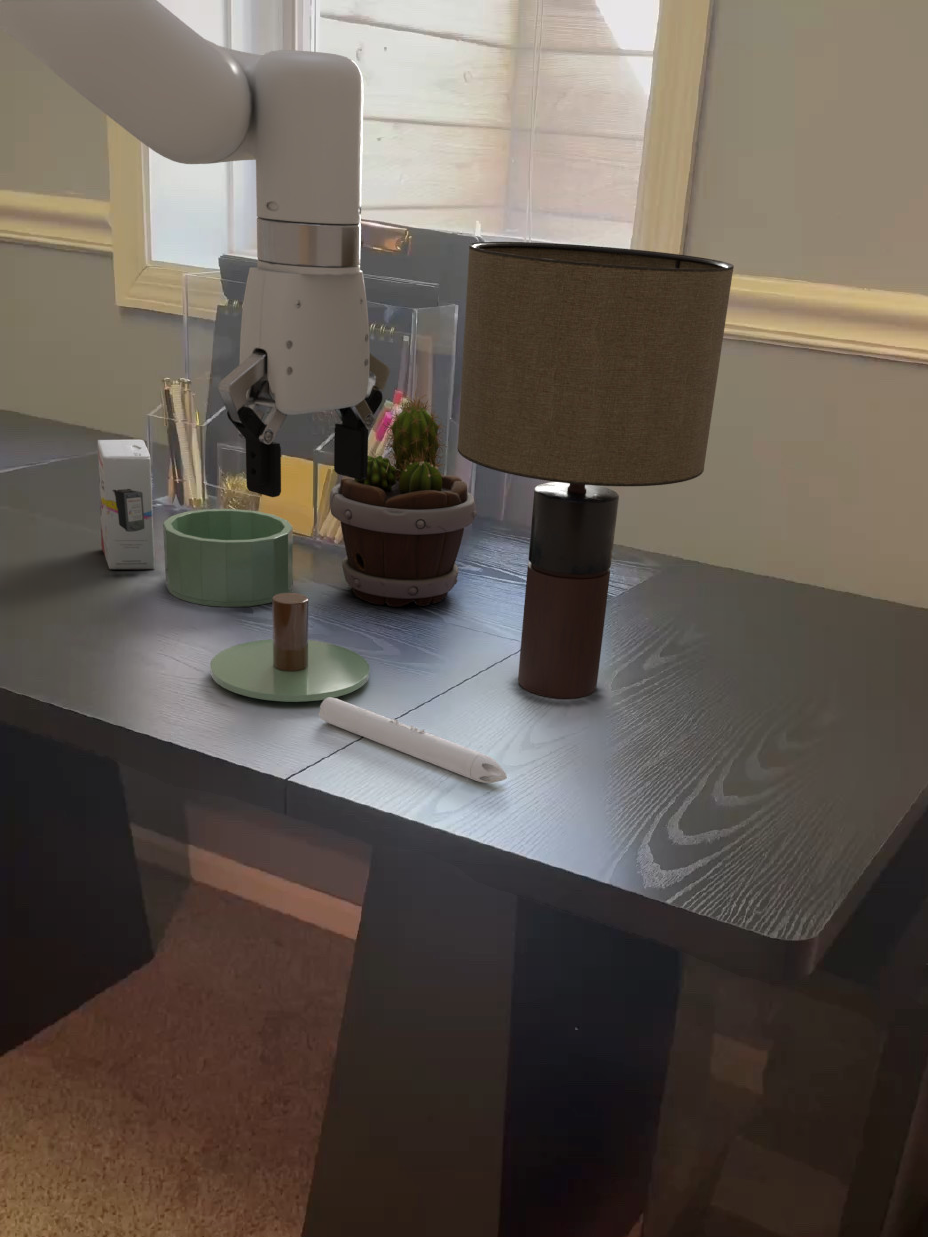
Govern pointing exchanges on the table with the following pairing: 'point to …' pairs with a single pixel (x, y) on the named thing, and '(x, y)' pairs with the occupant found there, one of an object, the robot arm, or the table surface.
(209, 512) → the green round container
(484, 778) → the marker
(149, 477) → the ink box
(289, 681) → the lid
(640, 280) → the lamp
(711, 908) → the table surface
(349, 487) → the flowerpot
